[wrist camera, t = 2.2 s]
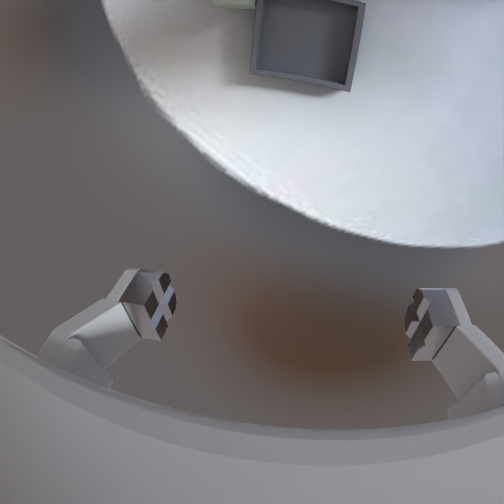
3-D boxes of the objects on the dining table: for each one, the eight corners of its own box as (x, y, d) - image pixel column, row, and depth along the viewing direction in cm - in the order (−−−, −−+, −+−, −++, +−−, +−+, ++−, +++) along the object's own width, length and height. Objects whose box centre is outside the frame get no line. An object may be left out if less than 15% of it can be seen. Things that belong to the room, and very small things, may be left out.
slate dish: (262, -10, 19) (258, -15, 17) (361, 6, 18) (365, 3, 16) (254, 71, 26) (249, 74, 24) (347, 88, 25) (349, 92, 23)
